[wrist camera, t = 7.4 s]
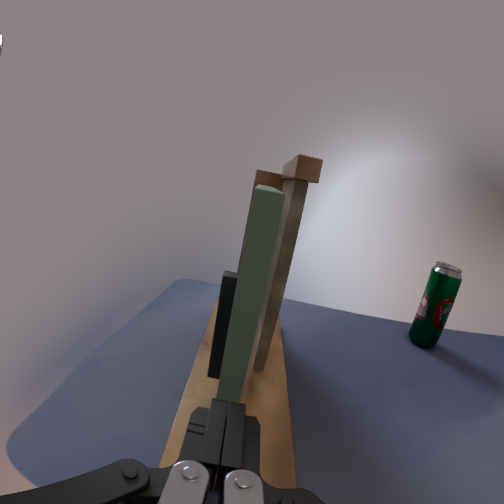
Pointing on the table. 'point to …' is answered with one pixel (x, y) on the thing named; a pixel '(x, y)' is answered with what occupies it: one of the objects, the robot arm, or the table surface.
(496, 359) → the table surface
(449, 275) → the soda can
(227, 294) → the door
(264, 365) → the door frame
